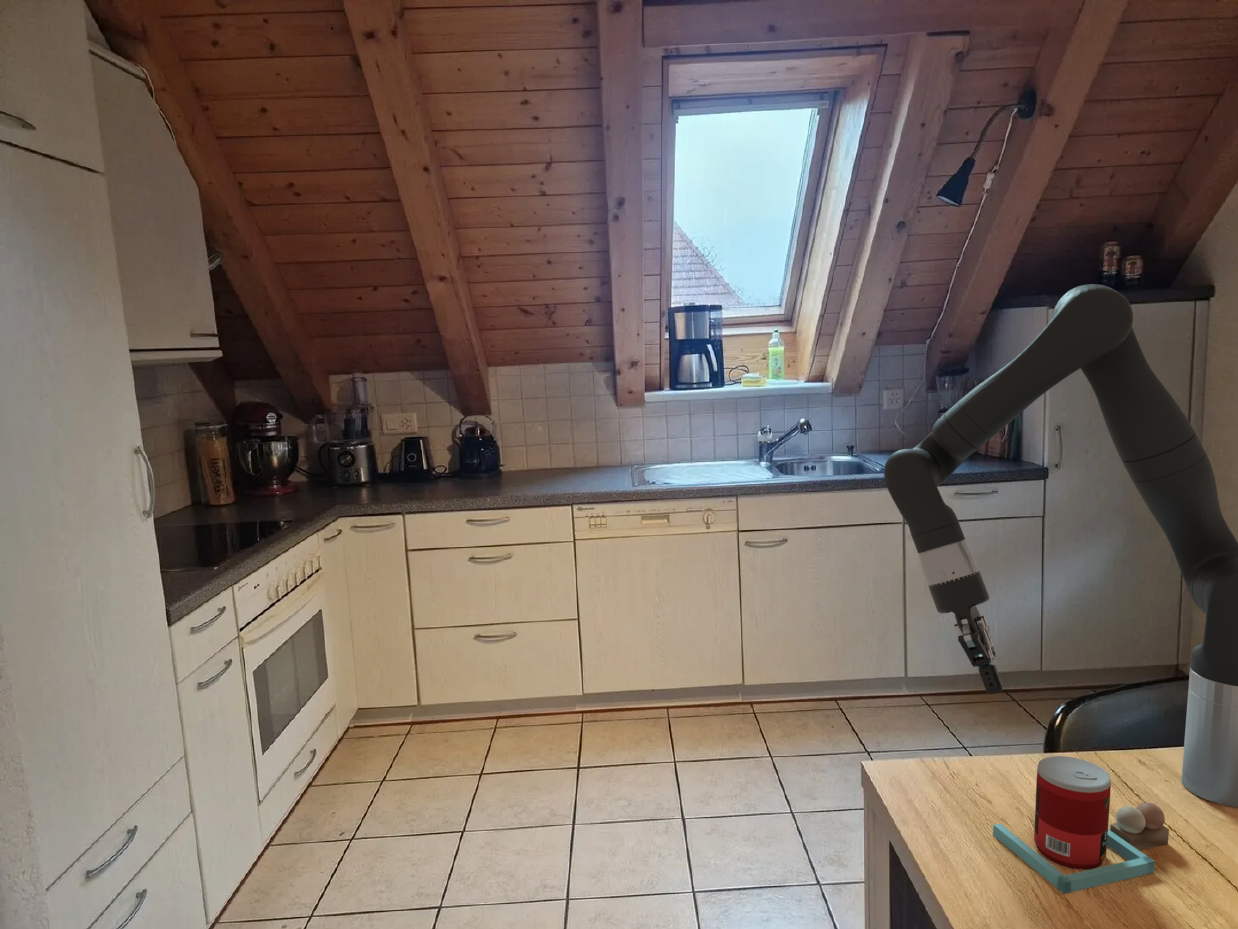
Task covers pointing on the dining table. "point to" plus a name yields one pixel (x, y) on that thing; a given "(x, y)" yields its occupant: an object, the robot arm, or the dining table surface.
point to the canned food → (1072, 812)
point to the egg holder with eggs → (1141, 826)
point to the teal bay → (1085, 879)
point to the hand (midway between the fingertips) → (996, 692)
